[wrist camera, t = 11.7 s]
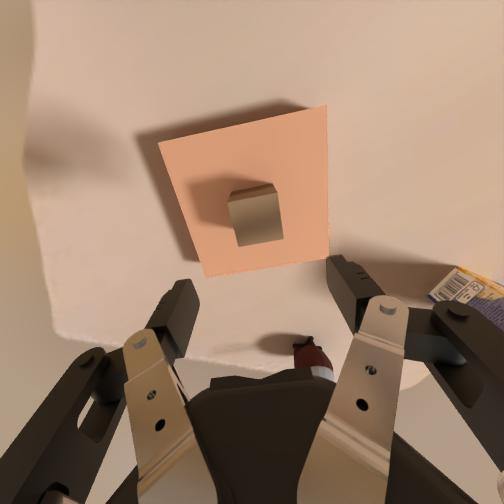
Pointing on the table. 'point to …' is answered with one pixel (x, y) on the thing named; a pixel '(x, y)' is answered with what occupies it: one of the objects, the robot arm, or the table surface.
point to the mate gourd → (313, 359)
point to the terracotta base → (252, 175)
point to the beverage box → (472, 293)
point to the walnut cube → (255, 215)
